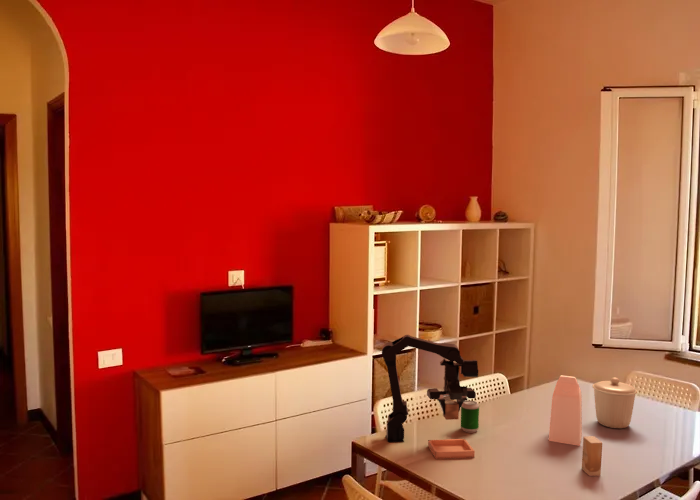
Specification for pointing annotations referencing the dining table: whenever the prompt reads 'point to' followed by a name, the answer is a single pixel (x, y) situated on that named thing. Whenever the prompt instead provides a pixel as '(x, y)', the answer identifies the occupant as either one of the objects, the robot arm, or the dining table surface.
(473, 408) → the soda can
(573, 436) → the milk
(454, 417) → the walnut block
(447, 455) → the terracotta tray
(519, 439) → the dining table surface
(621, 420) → the canister
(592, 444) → the skincare box
